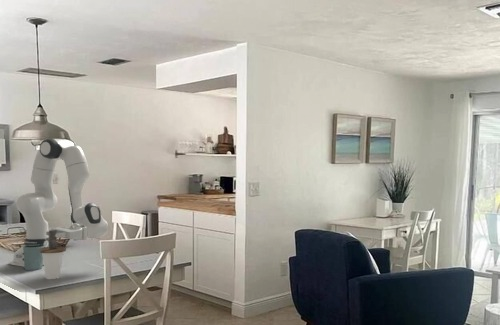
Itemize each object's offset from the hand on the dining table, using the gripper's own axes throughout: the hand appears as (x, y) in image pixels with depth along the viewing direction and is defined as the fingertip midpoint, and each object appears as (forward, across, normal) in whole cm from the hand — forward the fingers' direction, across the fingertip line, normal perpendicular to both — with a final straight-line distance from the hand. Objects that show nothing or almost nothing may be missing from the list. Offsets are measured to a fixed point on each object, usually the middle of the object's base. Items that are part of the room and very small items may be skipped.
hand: (51, 234), depth 234 cm
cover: (-1, 0, +8) cm, 8 cm away
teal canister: (-3, -26, +21) cm, 34 cm away
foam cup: (-1, 0, +21) cm, 21 cm away
